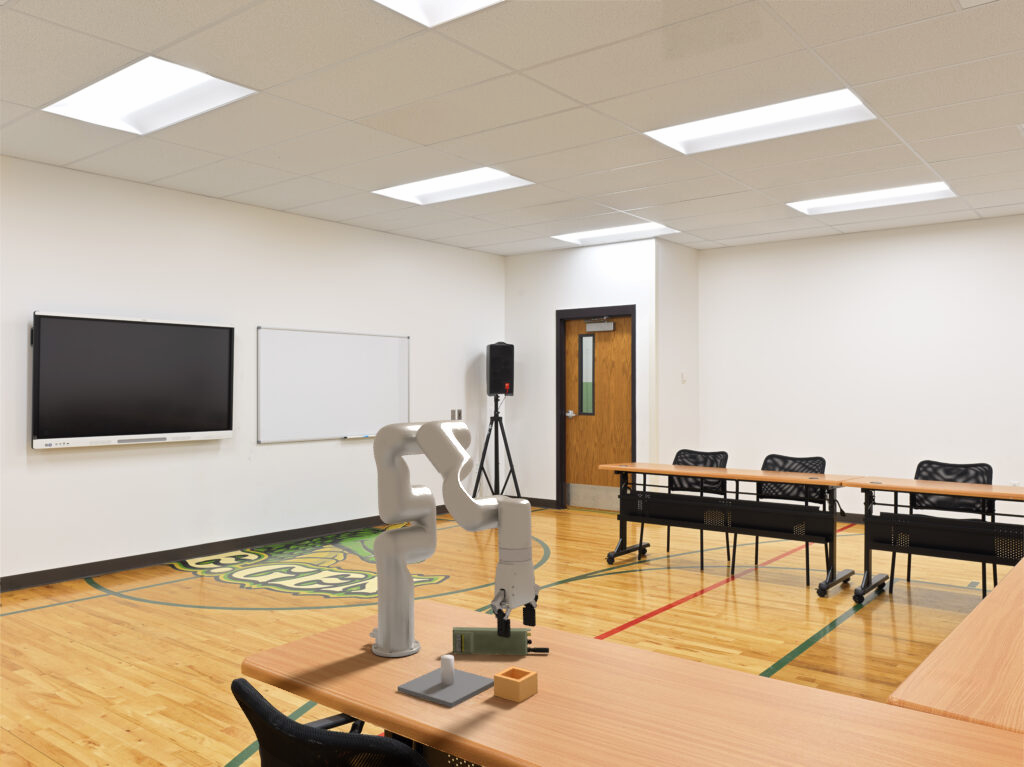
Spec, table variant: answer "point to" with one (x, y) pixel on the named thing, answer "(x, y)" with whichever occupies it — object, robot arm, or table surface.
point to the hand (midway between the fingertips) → (517, 631)
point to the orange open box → (515, 684)
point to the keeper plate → (446, 692)
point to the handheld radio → (492, 641)
